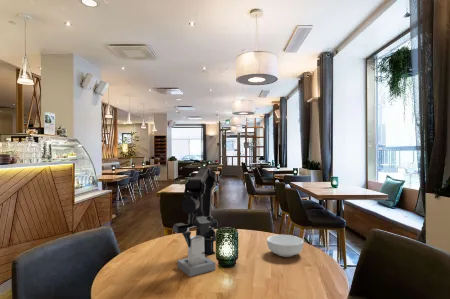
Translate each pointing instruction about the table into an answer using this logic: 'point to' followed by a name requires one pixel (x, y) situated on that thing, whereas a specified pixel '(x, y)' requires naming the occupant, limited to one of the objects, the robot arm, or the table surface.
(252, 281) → the table surface
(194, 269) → the ceramic holder
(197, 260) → the skincare box
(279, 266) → the table surface
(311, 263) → the table surface
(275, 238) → the cereal bowl
